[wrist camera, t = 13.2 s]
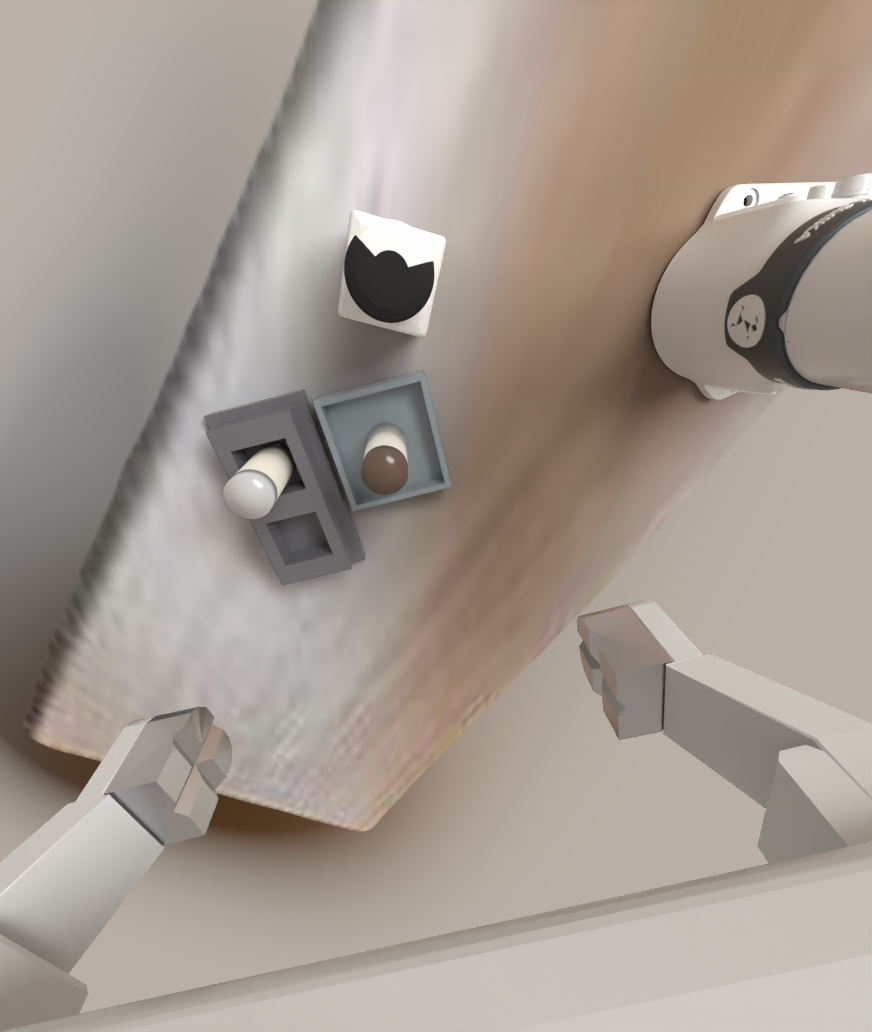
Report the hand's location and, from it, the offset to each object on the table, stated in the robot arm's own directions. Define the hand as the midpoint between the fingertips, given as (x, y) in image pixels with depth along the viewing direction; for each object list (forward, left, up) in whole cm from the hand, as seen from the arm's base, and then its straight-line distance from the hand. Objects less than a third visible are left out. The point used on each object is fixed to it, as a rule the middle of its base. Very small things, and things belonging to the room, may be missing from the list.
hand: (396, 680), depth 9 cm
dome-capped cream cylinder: (+14, +4, -36) cm, 39 cm away
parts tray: (+2, +5, -37) cm, 37 cm away
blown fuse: (+2, +5, -36) cm, 37 cm away
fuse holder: (+14, +8, -37) cm, 40 cm away
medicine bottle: (-2, -9, -37) cm, 38 cm away
